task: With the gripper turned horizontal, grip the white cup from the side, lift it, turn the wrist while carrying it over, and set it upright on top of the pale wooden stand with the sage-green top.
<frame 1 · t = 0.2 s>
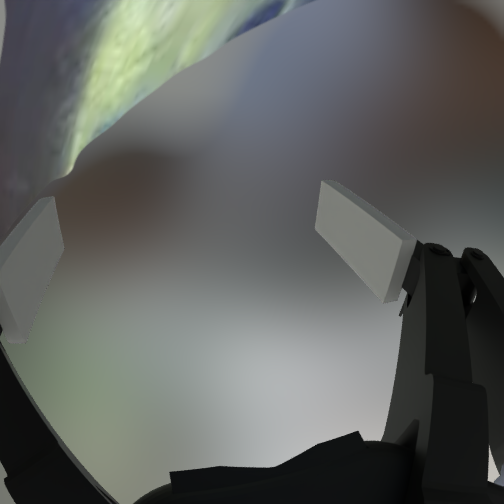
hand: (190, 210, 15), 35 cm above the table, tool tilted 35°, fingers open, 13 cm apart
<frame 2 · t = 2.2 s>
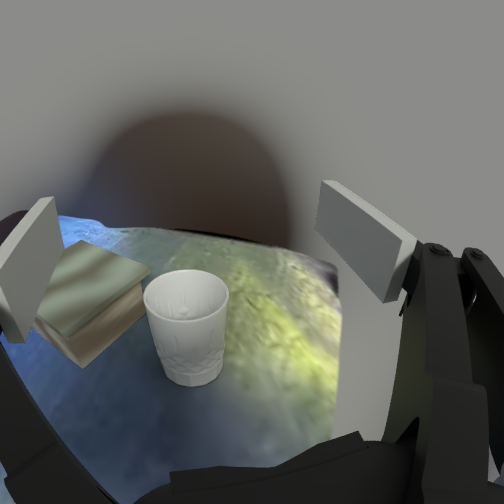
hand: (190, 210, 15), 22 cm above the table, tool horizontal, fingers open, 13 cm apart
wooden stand: (85, 321, 38), on the table
white cup: (192, 365, 34), on the table
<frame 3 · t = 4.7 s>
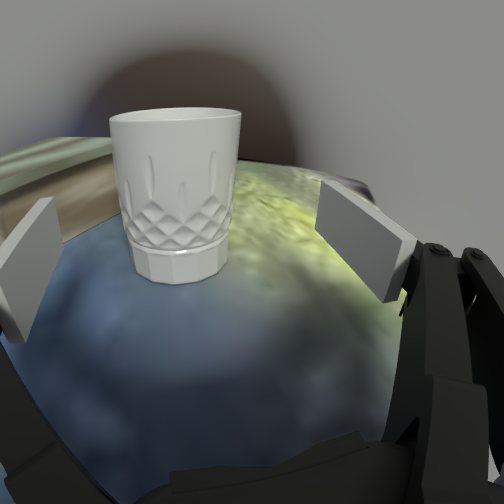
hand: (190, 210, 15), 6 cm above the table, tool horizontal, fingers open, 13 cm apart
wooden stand: (41, 223, 26), on the table
white cup: (179, 260, 22), on the table
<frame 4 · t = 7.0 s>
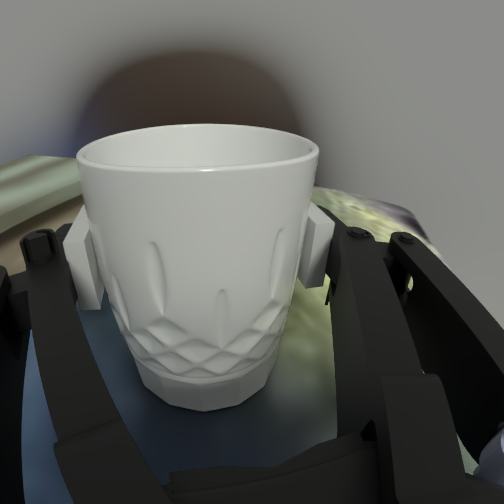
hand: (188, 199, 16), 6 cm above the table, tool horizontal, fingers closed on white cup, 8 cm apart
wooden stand: (14, 276, 19), on the table
white cup: (204, 358, 15), on the table, touching gripper
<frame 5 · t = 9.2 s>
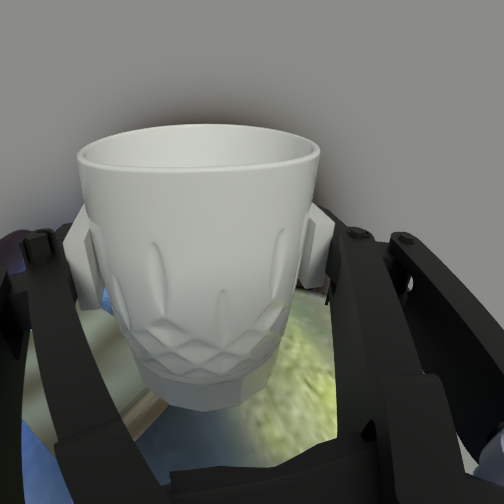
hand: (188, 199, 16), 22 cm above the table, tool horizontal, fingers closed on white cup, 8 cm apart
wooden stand: (93, 407, 27), on the table
white cup: (205, 358, 15), point 16 cm above the table, touching gripper
when the fingers open (14 cm above the table, at t = 11.8 s): white cup drops 1 cm, resting on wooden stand.
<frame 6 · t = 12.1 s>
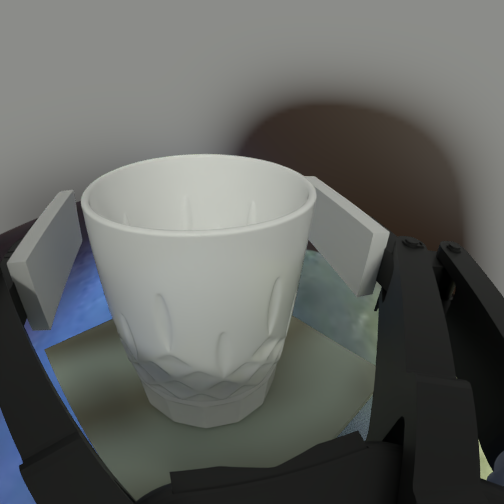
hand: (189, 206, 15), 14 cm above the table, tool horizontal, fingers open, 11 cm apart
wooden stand: (211, 434, 19), on the table
white cup: (206, 376, 16), point 7 cm above the table, touching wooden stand
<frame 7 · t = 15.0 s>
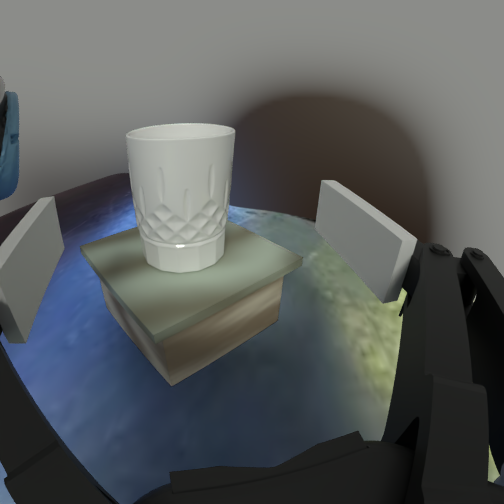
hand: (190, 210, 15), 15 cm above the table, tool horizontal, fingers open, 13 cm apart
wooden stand: (188, 315, 30), on the table
white cup: (183, 253, 26), point 7 cm above the table, touching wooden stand
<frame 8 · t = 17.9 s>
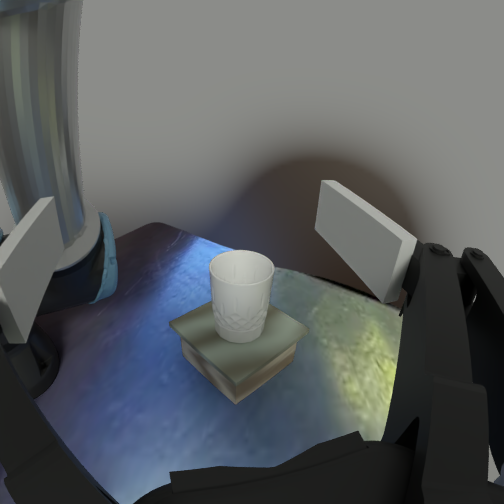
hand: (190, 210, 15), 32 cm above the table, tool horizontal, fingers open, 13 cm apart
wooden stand: (237, 359, 47), on the table
white cup: (239, 328, 44), point 7 cm above the table, touching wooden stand
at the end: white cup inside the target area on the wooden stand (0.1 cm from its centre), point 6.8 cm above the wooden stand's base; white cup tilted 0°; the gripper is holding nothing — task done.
